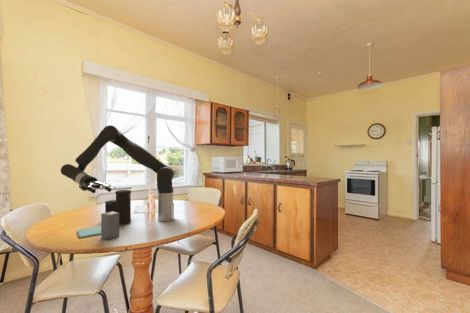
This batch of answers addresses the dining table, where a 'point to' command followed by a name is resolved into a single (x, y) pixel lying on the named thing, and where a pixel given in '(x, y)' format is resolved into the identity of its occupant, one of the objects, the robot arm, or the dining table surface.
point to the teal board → (89, 232)
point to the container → (123, 206)
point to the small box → (110, 206)
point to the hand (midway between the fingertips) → (103, 190)
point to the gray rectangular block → (109, 225)
